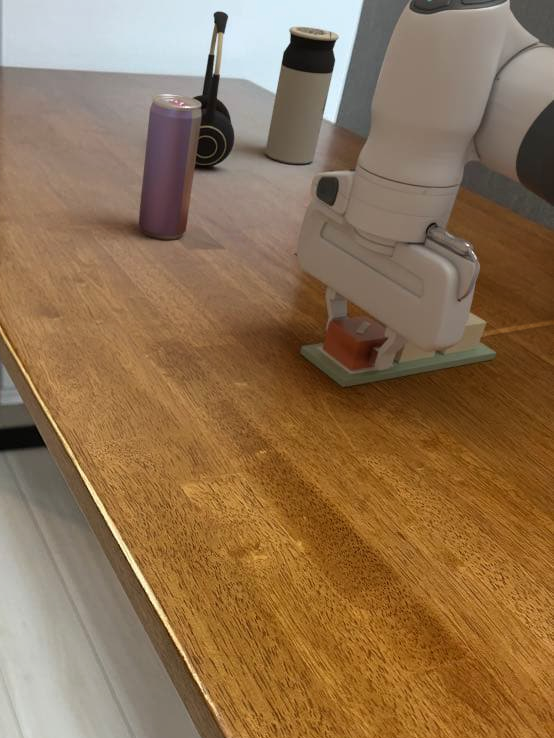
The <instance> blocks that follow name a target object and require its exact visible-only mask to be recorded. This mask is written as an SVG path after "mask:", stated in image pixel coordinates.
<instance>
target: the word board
mask: <svg viewBox="0 0 554 738" xmlns="http://www.w3.org/2000/svg"><path fill="white" fill-rule="evenodd" d="M375 322H377V323H378V324H380V325H381V326H382V327H384V328H385V329H386V328H387V326H386V325H384V324H383V323H381V322H380V321H378V320H377V319H375ZM486 325H487V321H485V320H484V319H483V318H480V317H479V316H477V315H475V314H474V313H472V312H471V311H470V312H469V316H468V320H467V323H466V327H465V330H464V333H463V336H462V338H461V340H460V341H459V342H458V343H457V344H455V345H454V346H452V347H450V348H448V349H443V350H438V351H430V352H426V351H423V350H421V349H420V348H418V347H417V346H415V345H414V344H412V343H411V342H410V341H409V342H408V343H407V344H406V345H405V346H403V347H402V348H401V349H400V350H399V351H398V352H396V354H395V357H394V360H393V363H392V366H391V367H390V368H389V369H385V370H380V371H379V370H378V369H377V368H375V367H369V368H363V369H357V370H350V369H348V368H347V367H346V366H345V365H343V364H342V363H341V362H339V361H338V360H337V359H335V358H334V357H333V356H331V355H330V354H329V353H327V352H326V351H325V350H324V349H323V345H324V342H320V343H315V344H308V345H301V348H300V351H299V354H300V355H301V356H303V358H305V359H306V360H308V361H309V362H310V363H311V364H312V365H314V366H315V367H316V368H318V370H320V371H321V372H323V373H324V374H325V375H326V376H328V377H329V378H330V379H331V380H333V381H334V382H336V383H337V384H338V385H339V386H340V387H341V388H347V387H353V386H358V385H364V384H369V383H375V382H380V381H385V380H390V379H395V378H401V377H406V376H411V375H418V374H423V373H427V372H428V373H429V372H434V371H439V370H443V369H444V370H445V369H449V368H455V367H460V366H465V365H470V364H476V363H481V362H482V363H483V362H487V361H492V360H495V357H496V355H497V352H496V351H495V350H493V349H492V348H490V347H488V346H487V345H486V344H484V343H482V342H481V339H482V336H483V334H484V331H485V328H486Z"/></svg>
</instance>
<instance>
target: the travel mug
mask: <svg viewBox="0 0 554 738" xmlns="http://www.w3.org/2000/svg"><path fill="white" fill-rule="evenodd" d="M288 32H289V33H290V36H289V37H290V38H289V44H288V45H287V47H286V48H285V49H284V51H283V53H282V57H281V58H282V60H281V65H280V68H279V76H278V81H277V87H276V91H275V97H274V102H273V108H272V113H271V119H270V125H269V130H268V135H267V140H266V144H265V145H266V146H265V151H264V152H265V154H266V155H267V156H268V157H269V158H271V159H272V160H275V161H276V162H280V163H285V164H290V165H306V164H309V163H312V162H313V161H315V154H316V150H317V146H318V141H319V137H320V133H321V126H322V124H323V119H324V114H325V110H326V106H327V105H326V104H327V101H328V96H329V92H330V86H331V82H332V78H333V73H334V68H335V64H336V57H335V52H334V47H335V46H336V42H337V40H339V37H340V35H338V33H335V32H334V31H331V30H326V29H321V28H316V27H309V26H308V27H307V26H292V27H290V28H289V29H288Z"/></svg>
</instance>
